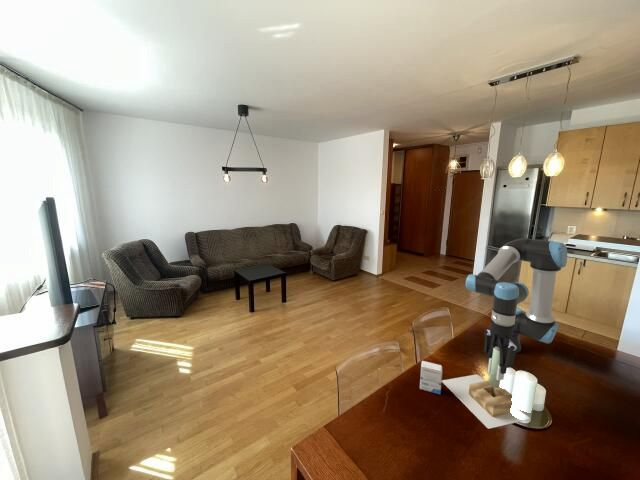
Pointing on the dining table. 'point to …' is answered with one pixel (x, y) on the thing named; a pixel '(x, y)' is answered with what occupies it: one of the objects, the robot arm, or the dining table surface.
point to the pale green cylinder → (495, 367)
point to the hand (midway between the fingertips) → (495, 375)
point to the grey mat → (462, 393)
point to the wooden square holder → (491, 398)
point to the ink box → (431, 377)
